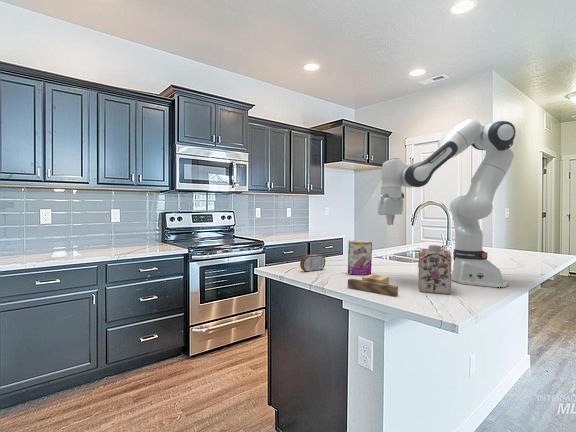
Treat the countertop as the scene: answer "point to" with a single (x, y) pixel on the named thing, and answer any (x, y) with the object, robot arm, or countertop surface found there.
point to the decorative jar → (434, 270)
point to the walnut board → (373, 287)
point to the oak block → (376, 279)
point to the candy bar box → (359, 257)
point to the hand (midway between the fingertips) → (390, 224)
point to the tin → (312, 262)
